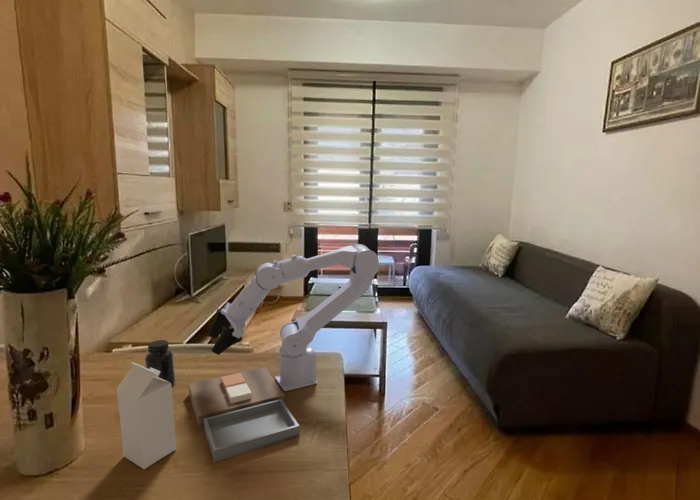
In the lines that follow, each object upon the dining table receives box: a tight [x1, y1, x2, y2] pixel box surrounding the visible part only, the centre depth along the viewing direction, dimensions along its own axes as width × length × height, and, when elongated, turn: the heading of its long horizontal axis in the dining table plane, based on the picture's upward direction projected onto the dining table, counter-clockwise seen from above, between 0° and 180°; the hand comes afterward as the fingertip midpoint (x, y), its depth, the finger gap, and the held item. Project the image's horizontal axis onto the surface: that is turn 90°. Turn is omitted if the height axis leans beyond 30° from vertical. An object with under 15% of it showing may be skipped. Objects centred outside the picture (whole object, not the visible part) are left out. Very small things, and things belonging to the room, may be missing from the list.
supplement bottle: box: [144, 339, 176, 387], centre depth 109 cm, size 7×7×12 cm
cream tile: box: [226, 383, 252, 403], centre depth 100 cm, size 5×5×2 cm
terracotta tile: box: [220, 372, 245, 391], centre depth 105 cm, size 5×5×2 cm
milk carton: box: [116, 361, 177, 470], centre depth 82 cm, size 7×7×19 cm
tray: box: [203, 399, 301, 463], centre depth 91 cm, size 18×12×2 cm, turn 118°
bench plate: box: [188, 366, 286, 429], centre depth 104 cm, size 20×16×3 cm
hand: (213, 344), depth 106 cm, fingers open, 7 cm apart
